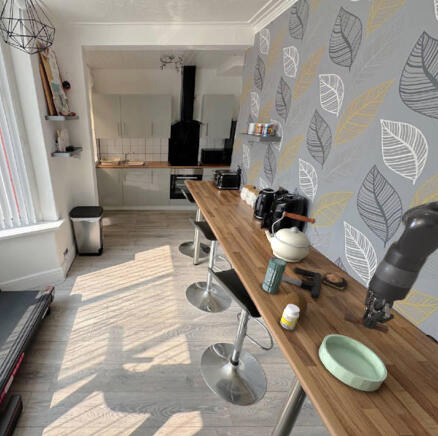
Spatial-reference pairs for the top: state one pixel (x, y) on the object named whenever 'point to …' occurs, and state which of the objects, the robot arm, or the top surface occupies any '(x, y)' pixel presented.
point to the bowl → (352, 362)
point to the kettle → (291, 240)
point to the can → (274, 275)
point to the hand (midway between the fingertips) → (366, 324)
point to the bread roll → (335, 281)
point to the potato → (296, 302)
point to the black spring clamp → (307, 285)
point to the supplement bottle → (290, 316)
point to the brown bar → (361, 320)
